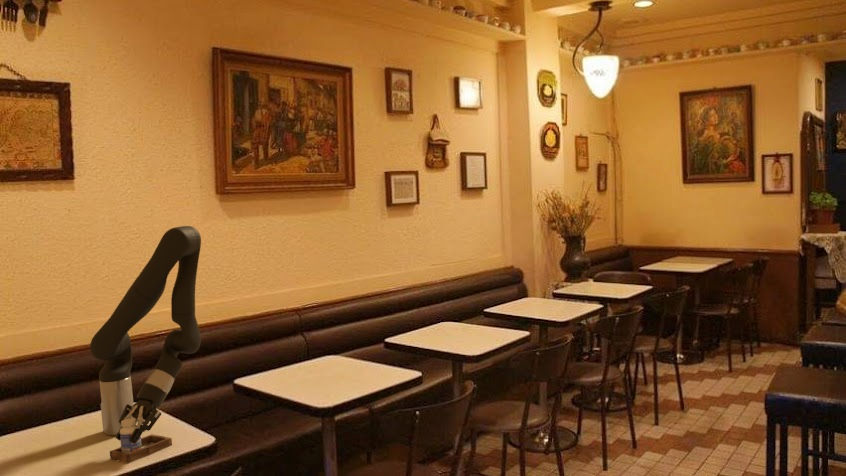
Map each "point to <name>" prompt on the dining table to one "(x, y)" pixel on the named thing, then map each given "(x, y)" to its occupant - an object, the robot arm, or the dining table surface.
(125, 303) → the robot arm
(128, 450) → the pill bottle
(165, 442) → the brown wooden rectangular frame
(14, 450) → the dining table surface
